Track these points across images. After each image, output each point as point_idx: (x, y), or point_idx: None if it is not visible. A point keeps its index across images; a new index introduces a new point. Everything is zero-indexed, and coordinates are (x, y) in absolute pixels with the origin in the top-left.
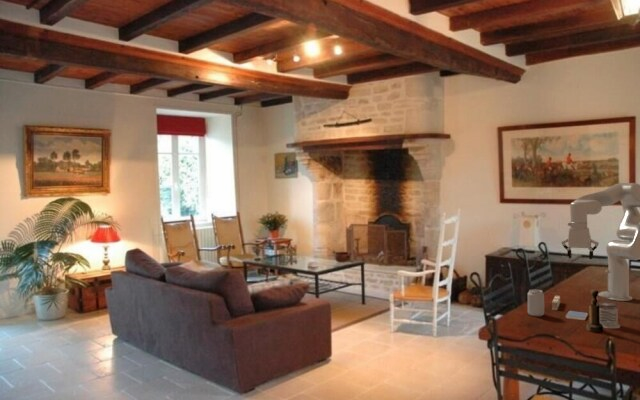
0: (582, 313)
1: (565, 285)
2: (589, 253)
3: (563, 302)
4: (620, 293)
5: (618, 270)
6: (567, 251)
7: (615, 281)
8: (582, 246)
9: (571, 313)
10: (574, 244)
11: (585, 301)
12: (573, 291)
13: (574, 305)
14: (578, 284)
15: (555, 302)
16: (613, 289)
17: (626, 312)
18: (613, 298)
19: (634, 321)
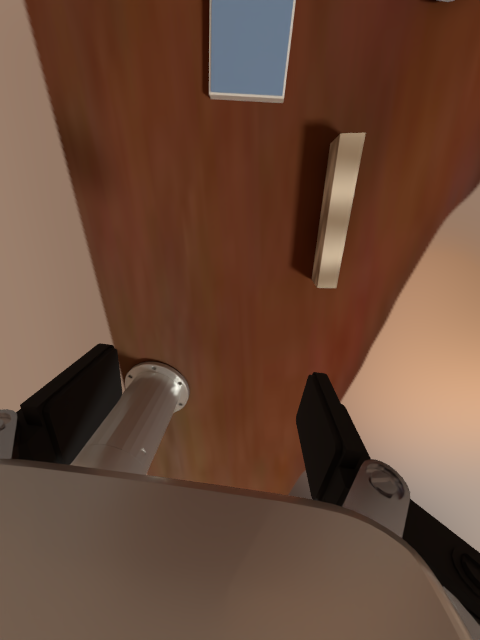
0: (227, 63)
1: (288, 472)
2: (66, 390)
3: (300, 289)
4: (140, 381)
5: (100, 447)
6: (369, 457)
7: (135, 411)
8: (47, 506)
9: (274, 27)
10: (275, 630)
11: (233, 328)
12: (269, 425)
13: (264, 259)
14: (259, 484)
15: (348, 135)
16: (154, 391)
17: (104, 225)
18: (163, 366)
19: (43, 75)
